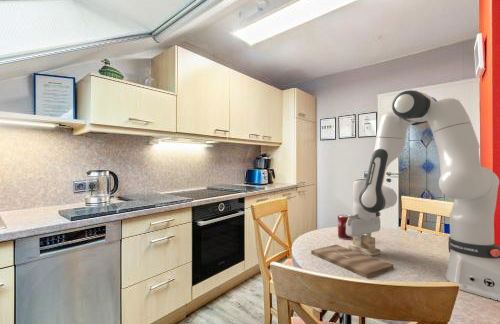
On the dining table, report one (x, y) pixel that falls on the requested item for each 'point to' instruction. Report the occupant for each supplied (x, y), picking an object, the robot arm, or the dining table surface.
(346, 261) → the board
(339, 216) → the soda can
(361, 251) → the sanding block
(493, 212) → the robot arm
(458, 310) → the dining table surface
